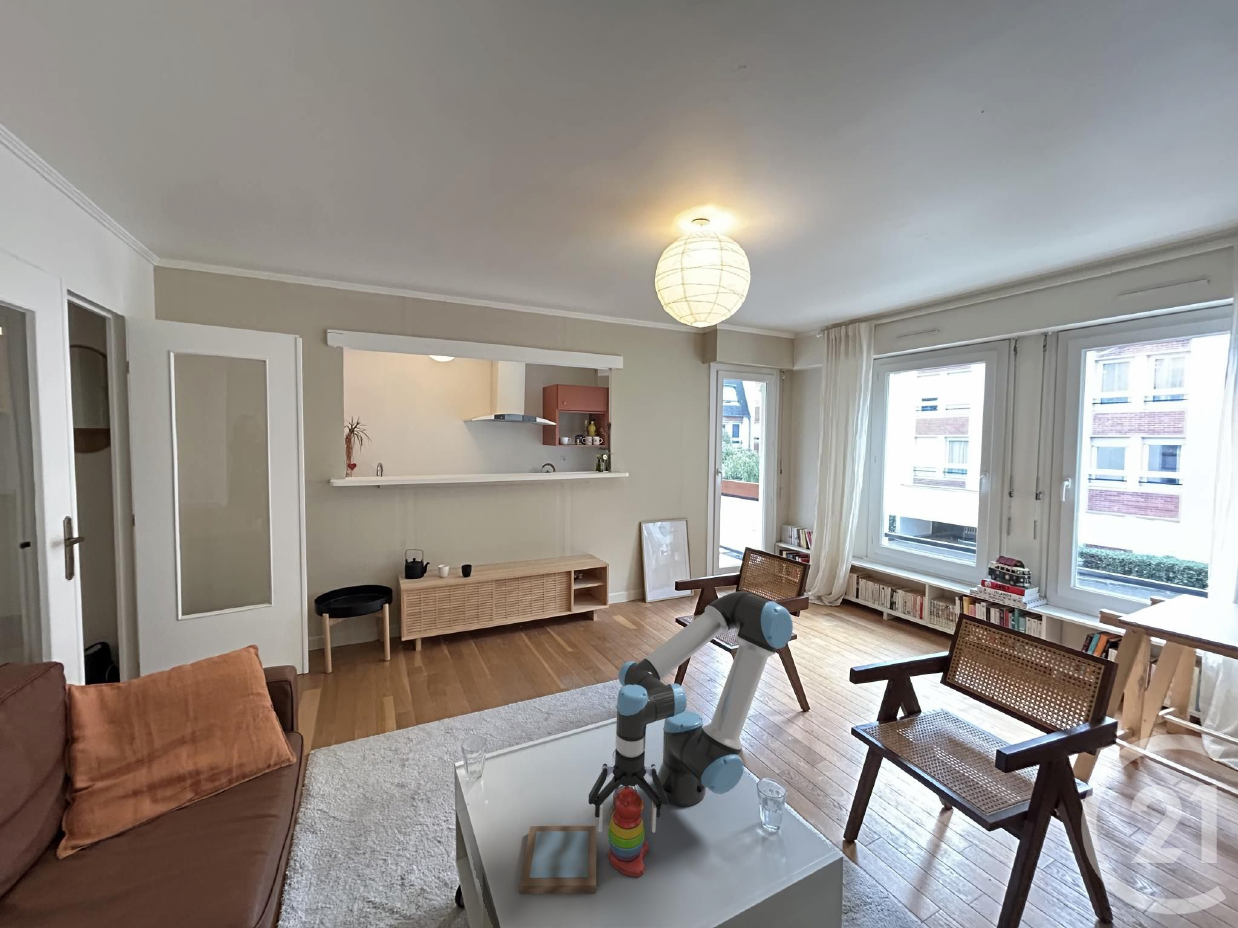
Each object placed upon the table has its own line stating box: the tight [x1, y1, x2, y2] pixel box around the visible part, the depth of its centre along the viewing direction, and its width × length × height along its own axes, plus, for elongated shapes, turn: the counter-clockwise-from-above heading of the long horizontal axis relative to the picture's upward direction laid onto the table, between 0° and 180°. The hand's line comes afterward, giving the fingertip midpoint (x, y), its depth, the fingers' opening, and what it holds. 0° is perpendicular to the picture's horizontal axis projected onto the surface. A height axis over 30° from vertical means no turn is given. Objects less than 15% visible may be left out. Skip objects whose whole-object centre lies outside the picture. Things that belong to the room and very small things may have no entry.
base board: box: [519, 825, 597, 895], centre depth 130 cm, size 18×18×2 cm
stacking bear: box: [607, 786, 649, 878], centre depth 131 cm, size 11×10×18 cm
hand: (626, 828), depth 131 cm, fingers open, 13 cm apart
